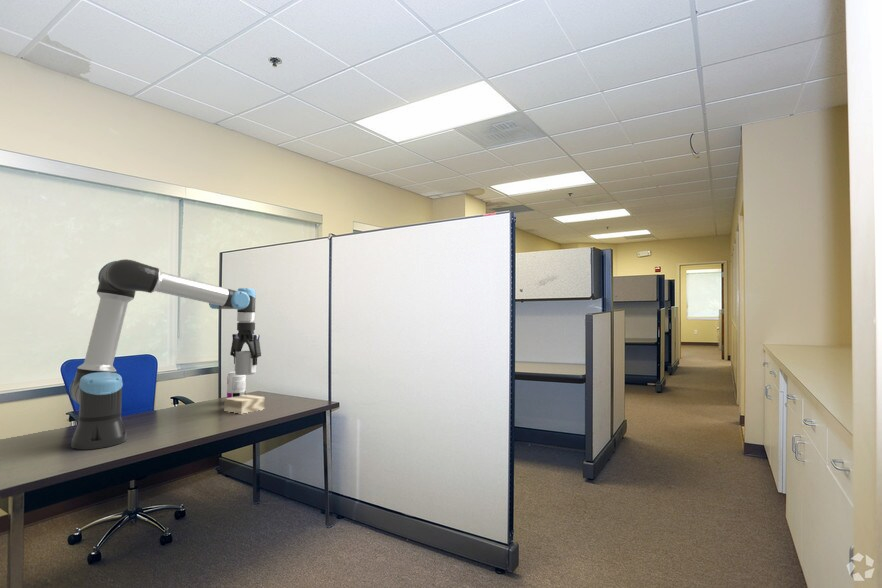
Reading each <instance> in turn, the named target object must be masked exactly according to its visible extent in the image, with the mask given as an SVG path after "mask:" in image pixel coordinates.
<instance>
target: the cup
mask: <svg viewBox="0 0 882 588" xmlns="http://www.w3.org/2000/svg"><path fill="white" fill-rule="evenodd" d="M251 357H252V356H251V352H250V350H241V351H240V352H236V365H235V364H234V371H235V375H246V376H249V375H250V376H251V375H255V374H256V372H254V373H250V358H251Z"/></svg>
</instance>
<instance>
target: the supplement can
mask: <svg viewBox="0 0 882 588" xmlns="http://www.w3.org/2000/svg"><path fill="white" fill-rule="evenodd" d="M226 381H227V383H226V385H227V386H226V398H231V397H236V396H241V395H246V394H247V393H246V388H247V387H246V382H247V375H235V370H234V371H229V372H228V374H227V379H226Z"/></svg>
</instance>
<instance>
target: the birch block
mask: <svg viewBox="0 0 882 588" xmlns="http://www.w3.org/2000/svg"><path fill="white" fill-rule="evenodd" d="M265 400H266V397H265V396H263V395H262V396H261V395H260V396H259V395H256V394H255V395H254V394H249V393H246V394H245V395H241V396H236V397H231V398H227V397H226V398H224V402H223V403H224V405H223V406H224V407H223V410H224V411H228V412H227V413H230V412H234V413H233V414H235V413H240V414H243V413H247V414H249V413H248V412H251V413H255V412H254V411H256V412H259V411H258V410H260V411H264V410H263V409H265V408H266V407H265ZM224 411H223V412H224ZM240 414H239V415H240ZM243 415H244V414H243Z"/></svg>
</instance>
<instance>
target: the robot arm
mask: <svg viewBox="0 0 882 588" xmlns="http://www.w3.org/2000/svg"><path fill="white" fill-rule="evenodd" d="M97 277H98V278H97V279H98V286H97V290H96V294H97V296H98V297H99V302H98V306H97V311H96V314H95V319H94V322H93V326H92V330H91V335H90V338H89V341H88V346H87V351H86V353H85V354H86V355H85V358H84V361H83V363H82V364H79V366H77V367H76V372H75V376H74V378H73V380H72V381H71V383H70V384H69V389H68V391H69V395H70V397H71V400H72V401H74V402H75V403H76V404H77V405H79V406H78V423H77V426H76V427H75V428H76V429H75V431H74V434H73V436H72V438H71V445H70V447H71V448H72V447H73V448H77V449H76V450H95V449H102V448H108V447H112V446H116V445H119V444H122V443H124V442H125V441H127V436H128V434H127V431H126V430H127V429H126V427H125V425H124V423H123V419H122V400H123V399H122V397H123V395H122V394H123V386H124V383H123V378H122V376H121V375H120V374H119V373H117V369H116V368H115V366H114V361H115V357H116V353H117V349H118V345H119V340H120V337H121V332H122V328H123V325H124V320H125V316H126V313H127V307H128V304H129V302H131V301H133V300H134V299H135V296H136V292H145V293H150V294H152V293H154V292H157V293H162V294H166V295H171V296H175V297H180V298H185V299H189V300H193V301H198V302H203V303H207V304H208V305H209V308H210V309H212V310H213V309H214V310H237V312H236V315H237V316H236V321H237V323H236V330H237V331H238V332H237V333H233V334H232V336H231V337H232V342H231V348H230V353H229V355H230V356H232V357H233V364H234V366H235V365H236V352H240V351H243V350H242V349H243V348H244V347H243V346H244V345H245V344H246V345H247V346H248V349H249V350H248V351H250V352H251V356H252V357H251V358H250V373H254V372H255V373H257V365H258V358H259V357H262V351H261V344H260V343H261V342H260V337H261V336H260V334H255V330H256V323H255V320H256V299H257V297H256V296H257V295H256V290H255V289H254V288H253V287H239V288H238V289H237V290H234V289H230V288H226V287H222V286H218V285H214V284H210V283H207V282H202V281H199V280H196V279H195V280H194V279H191V278H186V277H183V276H179V275H175V274H172V273H166V272H162V270H161V269H160V268H158V267H154V266H151V265H148V264H145V263H141V262H139V261H136V260H133V259H119V260H114V261H111V262H108V263H106V264H105V265H104V266H103V267H101V269H100V270H99V272H98V276H97ZM73 448H72V449H73Z"/></svg>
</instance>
